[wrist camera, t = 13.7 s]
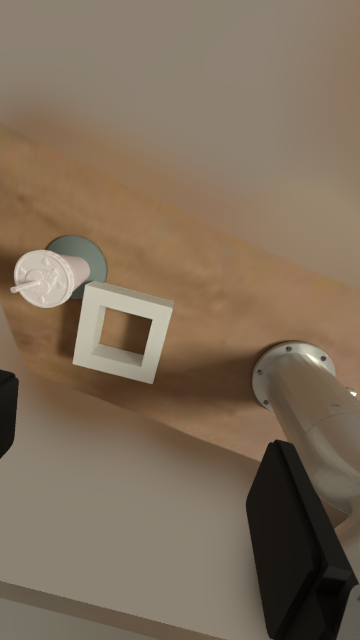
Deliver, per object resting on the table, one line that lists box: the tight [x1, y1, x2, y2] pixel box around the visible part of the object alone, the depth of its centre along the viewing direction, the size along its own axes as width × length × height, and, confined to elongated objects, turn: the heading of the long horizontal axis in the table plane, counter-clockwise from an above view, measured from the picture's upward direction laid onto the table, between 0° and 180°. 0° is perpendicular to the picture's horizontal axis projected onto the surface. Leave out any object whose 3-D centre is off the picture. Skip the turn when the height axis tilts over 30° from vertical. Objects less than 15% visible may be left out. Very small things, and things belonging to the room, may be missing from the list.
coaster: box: [47, 236, 107, 299], centre depth 39 cm, size 9×9×1 cm
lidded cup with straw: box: [10, 250, 90, 308], centre depth 32 cm, size 6×6×14 cm
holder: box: [73, 281, 175, 384], centre depth 40 cm, size 12×12×4 cm
